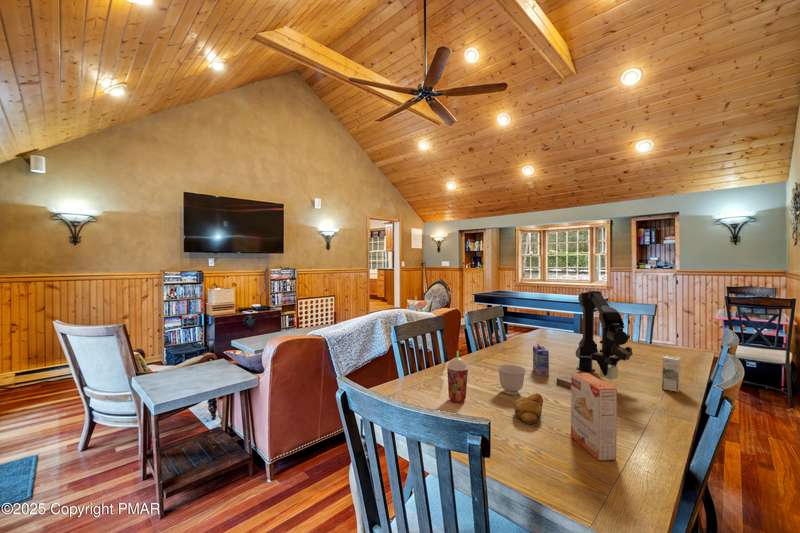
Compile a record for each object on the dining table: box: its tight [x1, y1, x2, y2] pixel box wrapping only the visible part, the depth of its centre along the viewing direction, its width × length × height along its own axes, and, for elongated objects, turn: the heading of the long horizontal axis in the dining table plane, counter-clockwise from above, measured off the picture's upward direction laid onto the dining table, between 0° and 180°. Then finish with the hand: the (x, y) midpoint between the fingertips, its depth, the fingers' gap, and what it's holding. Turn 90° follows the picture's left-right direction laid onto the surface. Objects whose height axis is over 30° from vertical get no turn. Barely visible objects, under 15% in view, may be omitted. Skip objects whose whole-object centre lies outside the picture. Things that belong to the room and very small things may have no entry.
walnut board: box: [556, 374, 572, 390], centre depth 161 cm, size 10×10×3 cm
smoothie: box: [446, 350, 469, 404], centre depth 142 cm, size 8×8×20 cm
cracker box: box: [570, 372, 618, 462], centre depth 107 cm, size 14×6×21 cm, turn 5°
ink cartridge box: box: [532, 343, 550, 377], centre depth 178 cm, size 10×6×14 cm, turn 174°
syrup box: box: [661, 354, 681, 393], centre depth 156 cm, size 6×6×14 cm
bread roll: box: [513, 392, 544, 425], centre depth 127 cm, size 13×10×8 cm
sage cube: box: [599, 364, 619, 380], centre depth 157 cm, size 5×5×5 cm
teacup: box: [496, 364, 527, 396], centre depth 153 cm, size 12×15×10 cm
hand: (608, 374), depth 157 cm, fingers closed on sage cube, 5 cm apart
